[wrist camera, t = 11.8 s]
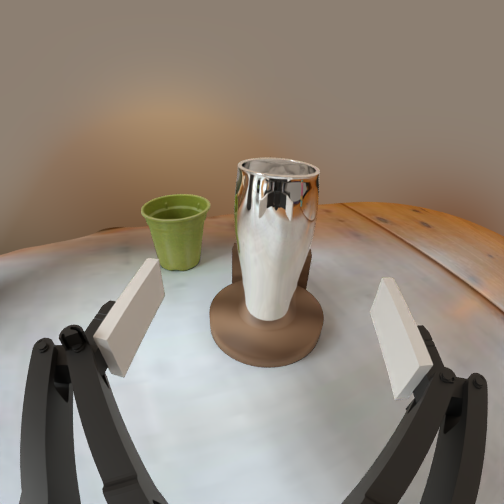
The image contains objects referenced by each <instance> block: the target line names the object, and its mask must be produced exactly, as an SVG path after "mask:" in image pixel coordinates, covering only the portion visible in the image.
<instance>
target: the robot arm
mask: <svg viewBox="0 0 504 504" xmlns="http://www.w3.org/2000/svg"><path fill="white" fill-rule="evenodd" d="M164 297H165V293H164V288H163V282H162V276H161V270H160V263H159V259H153V258H147V259H146V261H145V262H144V263H143V265H142V266H141V267H140V269H139V270H138V271H137V273H136V274H135V275H134V277H133V278H132V280H131V281H130V282H129V284H128V285H127V287H126V288H125V289H124V291H123V292H122V294H121V295H120V297H119V298H118V299H117V301H109V302H107V303H106V304H104V305H103V306H102V307H101V309H100V310H99V312H98V314H97V315H96V316H95V317H94V319H93V320H92V322H91V323H90V325H89V326H88V328H87V329H86V331H85V332H84V331H83V329H82V327H80V326H79V325H70V326H68V327H66V328H64V329H63V330H62V331H61V333H60V335H59V340H60V341H61V343H62V345H54V343H53V341H52V340H51V339H49V338H43V339H40V340H39V341H37V342H36V343H35V344H34V347H33V350H32V355H31V359H30V364H29V370H28V375H27V381H26V388H25V395H24V403H23V412H22V424H21V443H20V470H21V488H22V493H21V497H20V502H19V504H81V502H80V495H79V489H78V482H77V474H76V465H75V454H74V438H73V392H74V396H75V400H76V404H77V408H78V412H79V415H80V419H81V422H82V426H83V429H84V432H85V436H86V439H87V442H88V445H89V448H90V450H91V453H92V456H93V459H94V461H95V464H96V466H97V469H98V471H99V474H100V476H101V479H102V481H103V484H104V486H103V489H102V490H103V494H104V497H105V499H106V501H107V503H108V504H168V503H167V501H166V500H165V498H164V497H163V496H162V495H161V493H160V492H159V491H158V489H157V488H156V486H155V485H154V483H153V481H152V479H151V477H150V476H149V474H148V472H147V470H146V468H145V466H144V464H143V462H142V460H141V458H140V456H139V454H138V452H137V450H136V448H135V446H134V444H133V442H132V440H131V437H130V435H129V433H128V431H127V428H126V426H125V424H124V421H123V419H122V417H121V414H120V412H119V409H118V406H117V404H116V401H115V399H114V396H113V393H112V390H111V387H110V385H109V382H108V379H107V376H106V374H105V371H106V369H107V368H109V370H110V372H111V374H114V375H117V376H121V377H125V375H126V373H127V371H128V369H129V367H130V364H131V362H132V360H133V358H134V356H135V354H136V352H137V350H138V348H139V346H140V344H141V342H142V340H143V338H144V336H145V334H146V332H147V330H148V328H149V326H150V324H151V322H152V320H153V318H154V316H155V314H156V312H157V310H158V308H159V306H160V304H161V302H162V300H163V299H164ZM370 315H371V318H372V321H373V324H374V327H375V331H376V334H377V337H378V340H379V344H380V347H381V350H382V354H383V357H384V361H385V364H386V368H387V372H388V375H389V379H390V383H391V387H392V391H393V395H394V399H395V400H401V399H408V398H409V396H410V395H411V394H412V393H413V394H414V397H415V398H414V400H413V401H412V402H411V403H410V404H409V405H408V407H407V408H406V410H407V409H408V410H407V411H406V413H405V415H404V417H403V419H402V420H401V422H400V424H399V425H398V427H397V429H396V430H395V432H394V434H393V435H392V437H391V438H390V440H389V442H388V443H387V445H386V446H385V448H384V449H383V451H382V452H381V454H380V455H379V456H378V458H377V459H376V461H375V462H374V464H373V465H372V466H371V468H370V469H369V470H368V472H367V473H366V474H365V476H364V477H363V478H362V480H361V481H360V482H359V483H358V485H357V486H356V487H355V488H354V490H353V491H352V492H351V493H350V494H349V496H348V497H347V498H346V499H345V500H344V501H343V502H342V504H397V503H398V502H399V500H400V499H401V497H402V496H403V494H404V493H405V491H406V490H407V488H408V486H409V485H410V483H411V482H412V480H413V478H414V476H415V475H416V473H417V471H418V469H419V468H420V466H421V464H422V462H423V460H424V458H425V456H426V454H427V453H428V451H429V449H430V446H431V444H432V442H433V440H434V438H435V436H436V434H437V431H438V429H439V427H440V429H439V434H438V439H437V444H436V449H435V453H434V458H433V462H432V466H431V469H430V473H429V477H428V480H427V483H426V487H425V490H424V493H423V496H422V499H421V502H420V504H475V502H476V498H477V494H478V489H479V485H480V479H481V474H482V468H483V461H484V453H485V444H486V432H487V409H488V393H487V382H486V380H485V378H484V377H483V376H482V375H480V374H478V373H473V374H471V375H470V376H469V378H468V379H464V378H459V377H456V375H455V374H454V372H453V371H452V370H451V369H449V368H446V367H444V365H443V363H442V360H441V358H440V356H439V353H438V351H437V349H436V347H435V344H434V342H433V341H432V338H431V335H430V333H429V332H428V331H427V329H426V328H425V327H424V326H423V325H422V326H417V325H416V323H415V321H414V319H413V316H412V314H411V312H410V310H409V308H408V306H407V304H406V302H405V300H404V298H403V296H402V294H401V292H400V290H399V288H398V286H397V284H396V282H395V280H394V278H388V277H382V279H381V282H380V285H379V288H378V291H377V294H376V297H375V299H374V302H373V305H372V308H371V310H370Z"/></svg>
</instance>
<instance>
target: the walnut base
mask: <svg viewBox="0 0 504 504" xmlns="http://www.w3.org/2000/svg"><path fill="white" fill-rule="evenodd" d="M311 258H312V254H311V249H309V252H308V255H307V258H306V260H305V263H304V266H303V268H302V271H301V274H300V277H299V280H298V283H297V288H296V316H295V319H294V320H293V322H292V323H291V324H290V325H288V326H287V327H285V328H282V329H279V330H273V331H265V330H259V329H256V328H253V327H251V326H249V325H247V324H246V323H245V322H244V321H243V320H242V319H241V318H240V316H239V313H238V305H239V300H240V296H241V292H242V284H243V282H242V271H241V265H240V260H239V255H238V249H237V243H234V246H233V249H232V284H231V285H229V286H227V287H225V288H224V289H222V290H221V291H220V292H219V293H218V294H217V295H216V296H215V298H214V299H213V301H212V303H211V306H210V327H211V334H212V336H213V339H214V341H215V342H216V344H217V345H218V347H219V348H220V349H221V350H222V351H223V352H224V353H225V354H227V355H228V356H230V357H231V358H233V359H235V360H237V361H239V362H242V363H244V364H247V365H251V366H257V367H280V366H285V365H289V364H292V363H295V362H297V361H299V360H301V359H302V358H304V357H305V356H307V355H308V354H309V353H310V352H311V351H312V350H313V349H314V347H315V346H316V344H317V342H318V339H319V336H320V333H321V329H322V326H323V320H324V319H323V311H322V308H321V306H320V304H319V302H318V301H317V300H316V298H315V297H314V296H313V295H312V294H311V293H309V292H308V291H307V290H306V286H307V280H308V275H309V269H310V264H311Z"/></svg>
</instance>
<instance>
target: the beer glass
mask: <svg viewBox="0 0 504 504" xmlns="http://www.w3.org/2000/svg"><path fill="white" fill-rule="evenodd" d="M319 174H320V170H319V169H318V168H317V167H315V166H313V165H311V164H308V163H305V162H301V161H296V160H290V159H282V158H254V159H247V160H244V161H241V162H240V163H238V173H237V182H236V192H235V206H234V227H235V236H236V243H237V249H238V255H239V260H240V265H241V271H242V282H243V284H242V292H241V296H240V300H239V305H238V313H239V316H240V318H241V319H242V320H243V321H244V322H245V323H246V324H247V325H249V326H251V327H253V328H256V329H259V330H265V331H273V330H279V329H282V328H285V327H287V326H288V325H290V324H291V323H292V322H293V320H294V319H295V316H296V288H297V283H298V280H299V277H300V274H301V271H302V268H303V266H304V263H305V260H306V258H307V255H308V252H309V249H310V246H311V242H312V239H313V235H314V231H315V225H316V220H317V211H318V197H319Z"/></svg>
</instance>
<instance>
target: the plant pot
mask: <svg viewBox="0 0 504 504" xmlns="http://www.w3.org/2000/svg"><path fill="white" fill-rule="evenodd" d="M209 209H210V202H209V201H208V200H207V199H205V198H203V197H200V196H197V195H189V194H176V195H167V196H163V197H159V198H156V199H153V200H151V201H149V202H147V203H146V204H144V205H143V207H142V208H141V213H142V215H143V216H144V217H145V219H146V222H147V224H148V225H149V228H150V231H151V235H152V238H153V242H154V246H155V249H156V253H157V256H158V259H159V263H160V265H161V266H162V267H163V268H165V269H167V270H181V271H184V270H188V269H191V268H193V267H194V266H196V265H197V264H198V263H199V260H200V254H201V244H202V235H203V226H204V220H205V219H206V214H207V211H208V210H209Z"/></svg>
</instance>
